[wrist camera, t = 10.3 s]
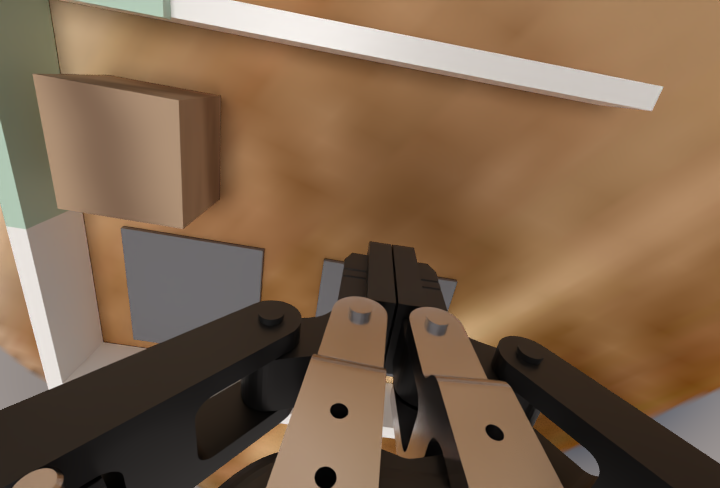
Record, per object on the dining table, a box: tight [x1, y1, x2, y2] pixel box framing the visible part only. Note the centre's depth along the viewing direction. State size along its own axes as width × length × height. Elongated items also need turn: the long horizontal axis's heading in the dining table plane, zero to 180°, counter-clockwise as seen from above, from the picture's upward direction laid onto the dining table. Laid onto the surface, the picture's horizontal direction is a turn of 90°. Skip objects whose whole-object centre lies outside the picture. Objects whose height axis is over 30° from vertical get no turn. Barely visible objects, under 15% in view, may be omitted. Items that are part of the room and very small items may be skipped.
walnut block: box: [32, 74, 221, 229], centre depth 19 cm, size 6×6×5 cm
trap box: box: [0, 0, 663, 438], centre depth 21 cm, size 30×24×5 cm
